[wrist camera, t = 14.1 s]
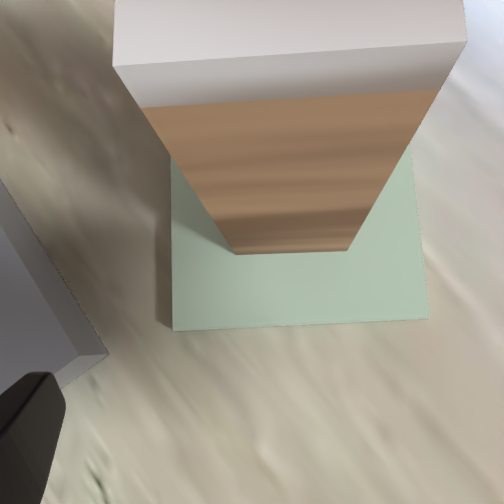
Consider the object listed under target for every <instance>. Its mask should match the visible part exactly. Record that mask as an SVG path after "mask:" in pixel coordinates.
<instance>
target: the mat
mask: <svg viewBox="0 0 504 504" xmlns="http://www.w3.org/2000/svg"><path fill="white" fill-rule="evenodd" d="M170 170H171V248H172V327H173V331H196V330H216V329H236V328H257V327H277V326H297V325H317V324H338V323H358V322H378V321H398V320H419V319H429V318H430V310H429V301H428V293H427V284H426V276H425V267H424V259H423V250H422V242H421V233H420V225H419V216H418V208H417V199H416V191H415V183H414V174H413V166H412V157H411V149H410V143H409V144H408V146H407V148H406V150H405V151H404V153H403V155H402V157H401V158H400V160H399V162H398V164H397V165H396V167H395V169H394V171H393V172H392V174H391V176H390V177H389V179H388V181H387V183H386V184H385V186H384V188H383V190H382V191H381V193H380V195H379V197H378V198H377V200H376V202H375V204H374V205H373V207H372V209H371V210H370V212H369V214H368V216H367V217H366V219H365V221H364V223H363V224H362V226H361V228H360V230H359V231H358V233H357V235H356V237H355V238H354V240H353V242H352V244H351V245H350V247H349V249H348V250H347V251H338V252H310V253H282V254H254V255H235V253H234V251H233V250H232V248H231V247H230V245H229V244H228V242H227V241H226V239H225V238H224V236H223V235H222V233H221V232H220V230H219V228H218V227H217V225H216V224H215V222H214V221H213V219H212V218H211V216H210V215H209V213H208V212H207V210H206V209H205V207H204V206H203V204H202V202H201V201H200V199H199V198H198V196H197V195H196V193H195V192H194V190H193V189H192V187H191V186H190V184H189V183H188V181H187V179H186V178H185V176H184V175H183V173H182V172H181V170H180V169H179V167H178V166H177V164H176V163H175V161H174V160H173V158H172V157H171V155H170Z"/></svg>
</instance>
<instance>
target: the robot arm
mask: <svg viewBox="0 0 504 504" xmlns="http://www.w3.org/2000/svg"><path fill="white" fill-rule="evenodd" d="M65 410H66V403H65V399H64V397H63V394H62V392H61V390H60V387H59V385H58V383H57V380H56V378H55V376H54V374H52V373H51V372H48V371H35V372H29V373H27V374H25V375H24V376H23V377H21V378H20V379H19V380H18V381H16V382H15V383H14V384H13V385H11V386H10V387H9V388H8V389H6V390H5V391H4V392H3V393H1V394H0V504H40V503H41V500H42V497H43V494H44V491H45V488H46V484H47V481H48V477H49V473H50V469H51V465H52V461H53V458H54V454H55V450H56V446H57V442H58V438H59V435H60V431H61V427H62V423H63V419H64V415H65Z"/></svg>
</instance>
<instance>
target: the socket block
mask: <svg viewBox="0 0 504 504" xmlns="http://www.w3.org/2000/svg"><path fill="white" fill-rule="evenodd" d="M107 355H109V353H108V351H107V349H106V348H105V346H104V345H103V343H102V341H101V340H100V338H99V337H98V335H97V333H96V332H95V330H94V329H93V327H92V325H91V324H90V322H89V321H88V319H87V317H86V316H85V314H84V313H83V311H82V309H81V308H80V306H79V305H78V303H77V301H76V300H75V298H74V297H73V295H72V293H71V292H70V290H69V288H68V287H67V285H66V284H65V282H64V280H63V279H62V277H61V276H60V274H59V272H58V271H57V269H56V268H55V266H54V264H53V263H52V261H51V260H50V258H49V256H48V255H47V253H46V252H45V250H44V248H43V247H42V245H41V244H40V242H39V240H38V239H37V237H36V236H35V234H34V232H33V231H32V229H31V227H30V226H29V224H28V223H27V221H26V219H25V218H24V216H23V215H22V213H21V211H20V210H19V208H18V207H17V205H16V203H15V202H14V200H13V199H12V197H11V195H10V194H9V192H8V191H7V189H6V187H5V186H4V184H3V183H2V181H1V179H0V394H1V393H3V392H4V391H5V390H6V389H8V388H9V387H10V386H11V385H13V384H14V383H15V382H16V381H18V380H19V379H20V378H21V377H23V376H24V375H25V374H27V373H29V372H35V371H48V372H51V373H52V374H54V376H55V378H56V380H57V383H58V385H59V387H60V389H62V388H63V387H64V386H66V385H67V384H69V383H70V382H71V381H73V380H74V379H76V378H77V377H78V376H80V375H81V374H82V373H84V372H85V371H87V370H88V369H89V368H91V367H92V366H94V365H95V364H96V363H98V362H99V361H100V360H102V359H103V358H105V357H106V356H107Z"/></svg>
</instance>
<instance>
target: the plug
mask: <svg viewBox="0 0 504 504" xmlns="http://www.w3.org/2000/svg"><path fill="white" fill-rule="evenodd" d="M467 42H468V38H467V30H466V22H465V13H464V5H463V0H115V15H114V40H113V64H112V66H113V68H114V69H115V71H116V72H117V74H118V75H119V77H120V78H121V80H122V81H123V83H124V85H125V86H126V88H127V89H128V91H129V92H130V94H131V95H132V97H133V98H134V100H135V101H136V103H137V104H138V106H139V108H140V109H141V111H142V112H143V114H144V115H145V117H146V118H147V120H148V121H149V123H150V124H151V126H152V127H153V129H154V130H155V132H156V134H157V135H158V137H159V138H160V140H161V141H162V143H163V144H164V146H165V147H166V149H167V150H168V152H169V153H170V155H171V157H172V158H173V160H174V161H175V163H176V164H177V166H178V167H179V169H180V170H181V172H182V173H183V175H184V176H185V178H186V179H187V181H188V183H189V184H190V186H191V187H192V189H193V190H194V192H195V193H196V195H197V196H198V198H199V199H200V201H201V202H202V204H203V206H204V207H205V209H206V210H207V212H208V213H209V215H210V216H211V218H212V219H213V221H214V222H215V224H216V225H217V227H218V228H219V230H220V232H221V233H222V235H223V236H224V238H225V239H226V241H227V242H228V244H229V245H230V247H231V248H232V250H233V251H234V253H235V255H254V254H282V253H310V252H338V251H347V250H348V249H349V247H350V245H351V244H352V242H353V240H354V238H355V237H356V235H357V233H358V231H359V230H360V228H361V226H362V224H363V223H364V221H365V219H366V217H367V216H368V214H369V212H370V210H371V209H372V207H373V205H374V204H375V202H376V200H377V198H378V197H379V195H380V193H381V191H382V190H383V188H384V186H385V184H386V183H387V181H388V179H389V177H390V176H391V174H392V172H393V171H394V169H395V167H396V165H397V164H398V162H399V160H400V158H401V157H402V155H403V153H404V151H405V150H406V148H407V146H408V144H409V143H410V141H411V139H412V137H413V136H414V134H415V132H416V131H417V129H418V127H419V125H420V124H421V122H422V120H423V118H424V117H425V115H426V113H427V111H428V110H429V108H430V106H431V104H432V103H433V101H434V99H435V97H436V96H437V94H438V92H439V91H440V89H441V87H442V85H443V84H444V82H445V80H446V78H447V77H448V75H449V73H450V71H451V70H452V68H453V66H454V64H455V63H456V61H457V59H458V57H459V56H460V54H461V52H462V51H463V49H464V47H465V45H466V44H467Z"/></svg>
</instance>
